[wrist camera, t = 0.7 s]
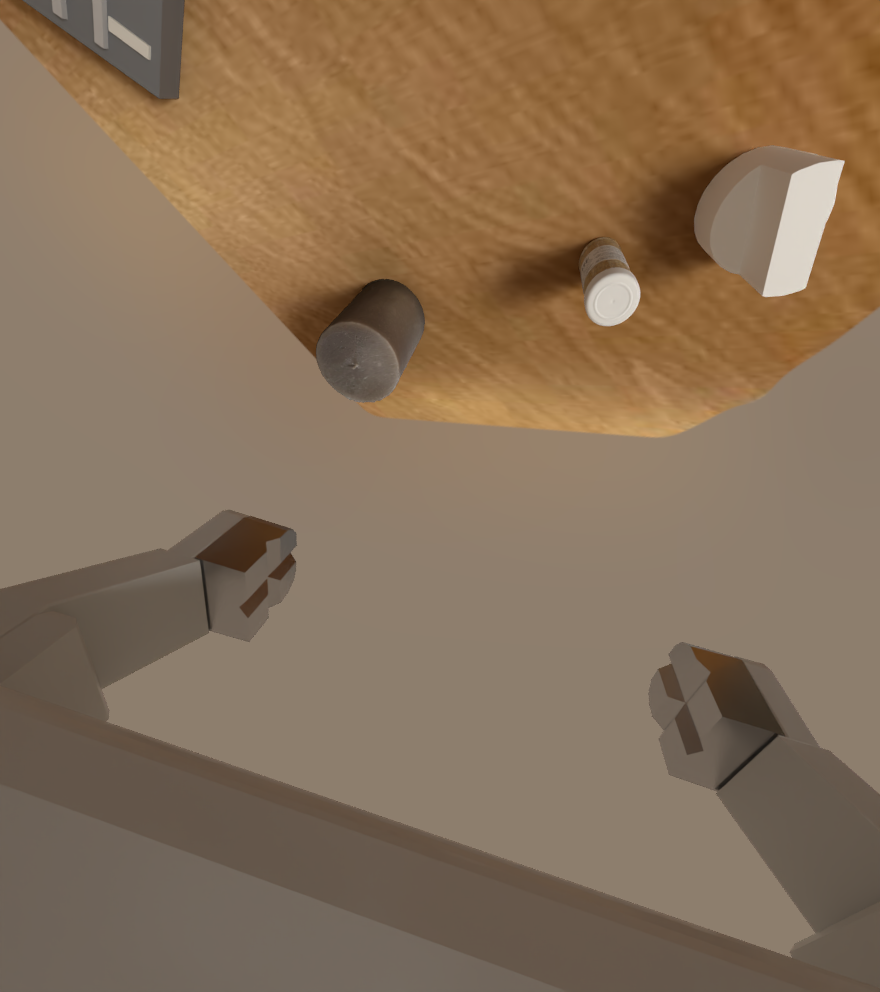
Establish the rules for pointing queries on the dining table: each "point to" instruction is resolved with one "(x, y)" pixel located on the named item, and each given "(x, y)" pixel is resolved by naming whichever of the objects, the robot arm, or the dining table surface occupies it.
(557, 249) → the dining table surface
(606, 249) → the sprinkles bottle
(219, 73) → the dining table surface
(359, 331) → the pillar candle
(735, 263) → the base with upright slab
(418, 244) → the dining table surface
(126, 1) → the fader console
